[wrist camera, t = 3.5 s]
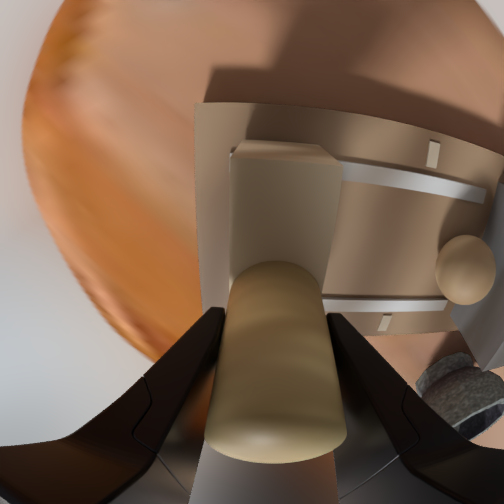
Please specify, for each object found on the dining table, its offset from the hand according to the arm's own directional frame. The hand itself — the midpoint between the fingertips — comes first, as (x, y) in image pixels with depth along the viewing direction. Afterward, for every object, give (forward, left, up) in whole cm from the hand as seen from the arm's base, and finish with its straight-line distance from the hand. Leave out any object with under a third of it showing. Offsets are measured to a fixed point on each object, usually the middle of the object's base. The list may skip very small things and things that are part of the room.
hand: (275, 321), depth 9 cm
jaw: (0, 0, -5) cm, 5 cm away
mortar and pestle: (-17, +14, -7) cm, 23 cm away
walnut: (-10, 0, -5) cm, 11 cm away
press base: (-6, 0, -7) cm, 9 cm away
